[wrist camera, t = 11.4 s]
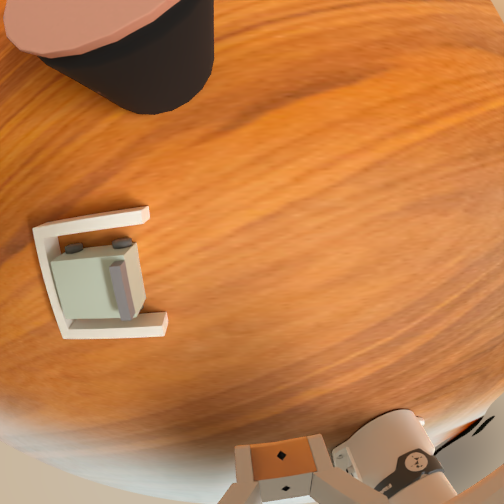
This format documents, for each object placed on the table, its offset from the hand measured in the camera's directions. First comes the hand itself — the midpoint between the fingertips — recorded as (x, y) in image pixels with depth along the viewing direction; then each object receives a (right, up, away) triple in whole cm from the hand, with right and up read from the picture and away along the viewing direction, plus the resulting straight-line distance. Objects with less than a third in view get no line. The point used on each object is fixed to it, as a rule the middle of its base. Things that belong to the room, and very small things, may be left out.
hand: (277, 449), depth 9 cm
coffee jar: (-10, +25, +15) cm, 31 cm away
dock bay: (-16, +5, +20) cm, 26 cm away
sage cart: (-16, +5, +20) cm, 26 cm away
